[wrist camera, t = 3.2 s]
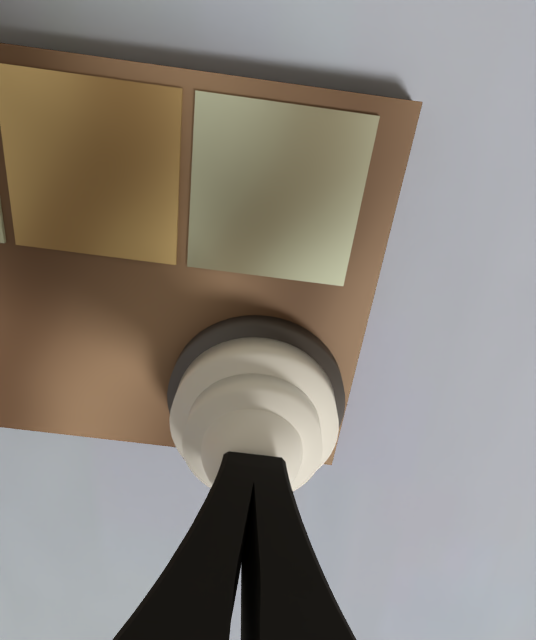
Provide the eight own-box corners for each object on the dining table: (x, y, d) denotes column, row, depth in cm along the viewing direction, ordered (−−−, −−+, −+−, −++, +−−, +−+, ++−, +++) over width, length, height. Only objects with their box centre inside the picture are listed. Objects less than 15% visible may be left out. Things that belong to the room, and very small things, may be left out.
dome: (174, 456, 14) (148, 544, 11) (179, 327, 12) (149, 396, 9) (319, 473, 14) (329, 564, 12) (349, 348, 12) (369, 422, 10)
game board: (-260, 379, 15) (-312, 407, 14) (-450, -20, 10) (-560, -37, 9) (329, 448, 16) (333, 481, 15) (413, 101, 11) (431, 102, 10)
